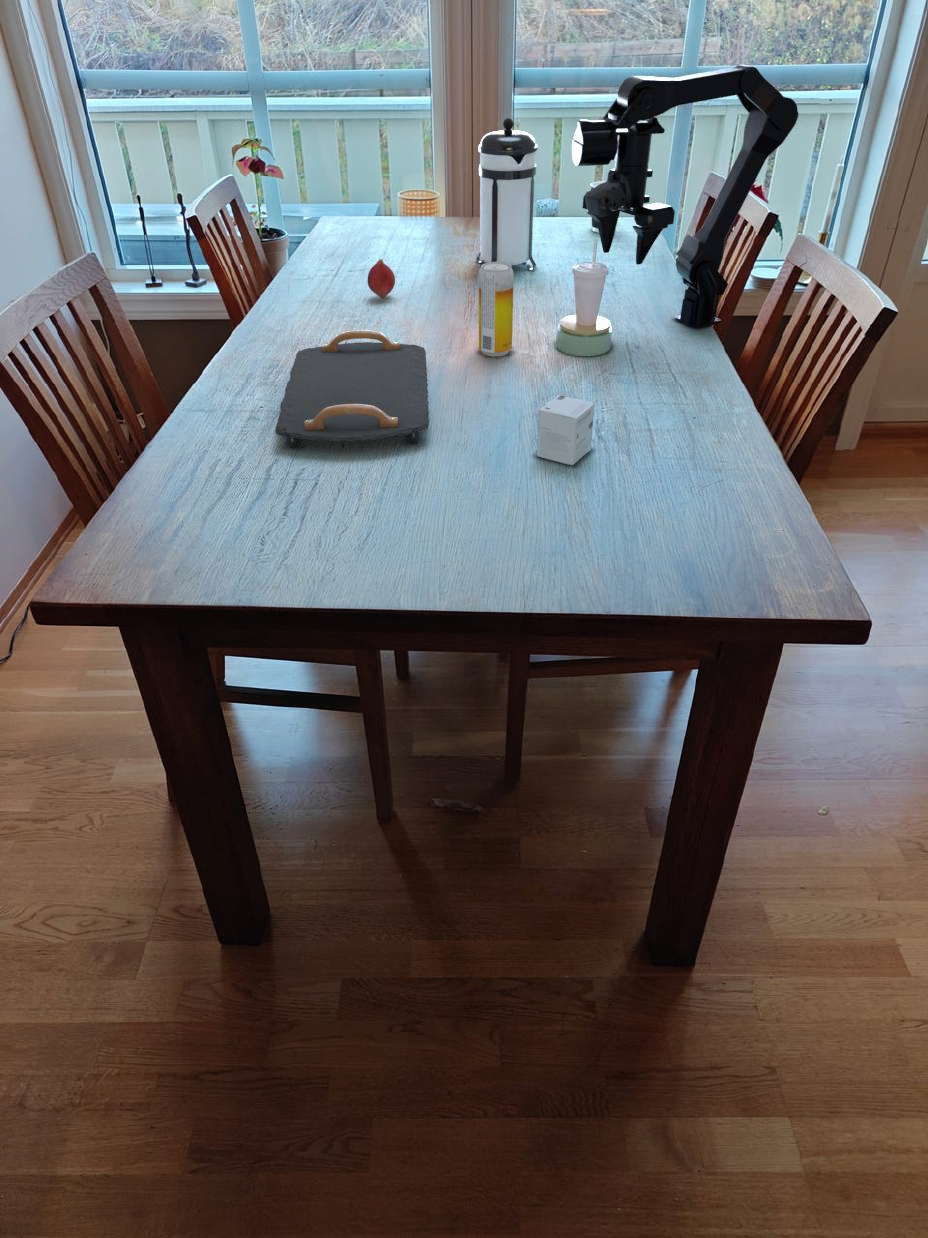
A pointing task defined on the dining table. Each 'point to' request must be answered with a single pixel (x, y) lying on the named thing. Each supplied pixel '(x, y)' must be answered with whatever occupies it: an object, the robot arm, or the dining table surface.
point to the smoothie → (588, 289)
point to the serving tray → (356, 391)
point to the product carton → (565, 429)
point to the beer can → (495, 308)
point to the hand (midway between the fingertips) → (622, 258)
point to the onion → (381, 279)
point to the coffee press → (507, 196)
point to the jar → (584, 337)
